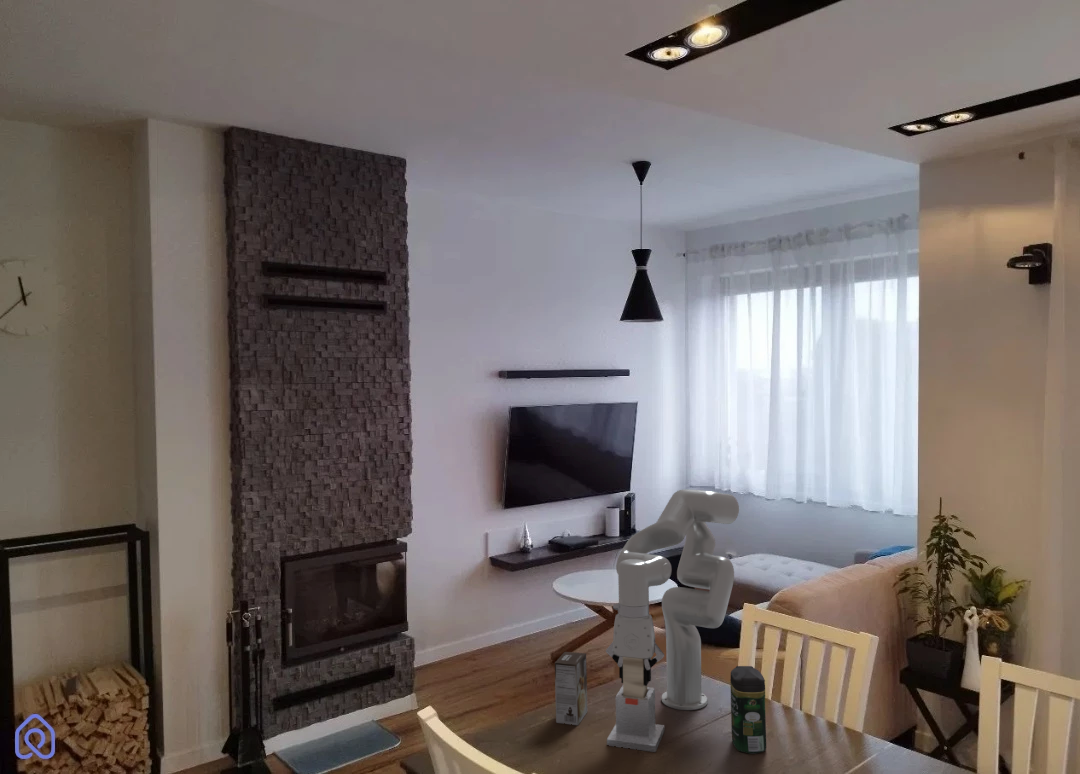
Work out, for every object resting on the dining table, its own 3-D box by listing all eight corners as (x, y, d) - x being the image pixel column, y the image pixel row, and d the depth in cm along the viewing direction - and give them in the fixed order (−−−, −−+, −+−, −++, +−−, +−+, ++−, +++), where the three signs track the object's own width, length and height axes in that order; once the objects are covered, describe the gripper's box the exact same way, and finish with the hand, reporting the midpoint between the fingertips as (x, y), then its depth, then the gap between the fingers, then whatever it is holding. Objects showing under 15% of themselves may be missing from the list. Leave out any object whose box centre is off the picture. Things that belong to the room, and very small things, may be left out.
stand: (618, 725, 202) (617, 681, 202) (664, 731, 198) (663, 686, 198) (606, 745, 191) (606, 698, 191) (655, 752, 187) (654, 704, 187)
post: (628, 723, 198) (627, 645, 198) (647, 726, 196) (646, 647, 196) (624, 732, 193) (622, 652, 193) (643, 735, 191) (642, 653, 191)
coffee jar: (728, 736, 194) (727, 662, 194) (760, 737, 194) (759, 662, 194) (735, 755, 185) (734, 677, 185) (769, 755, 184) (768, 677, 184)
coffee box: (565, 709, 213) (564, 650, 213) (588, 712, 211) (587, 652, 211) (555, 723, 204) (554, 662, 204) (578, 726, 202) (577, 664, 202)
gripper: (597, 611, 194) (598, 684, 194) (665, 617, 188) (666, 692, 188) (604, 603, 201) (606, 673, 201) (670, 608, 195) (671, 680, 195)
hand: (635, 681), depth 195 cm, fingers closed on post, 5 cm apart
